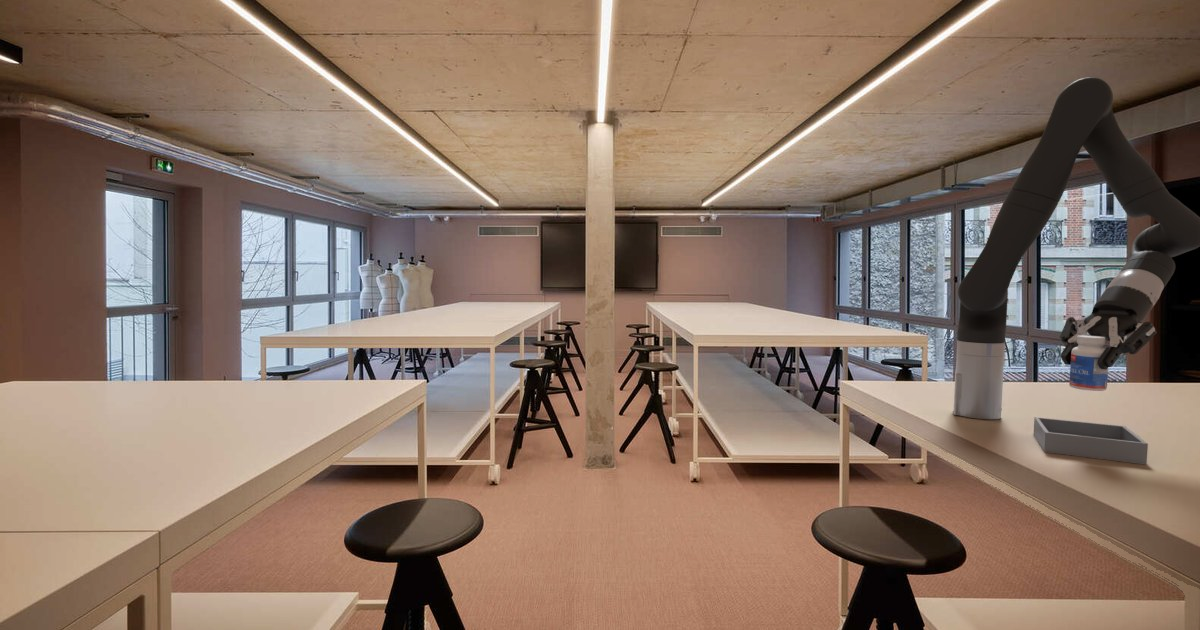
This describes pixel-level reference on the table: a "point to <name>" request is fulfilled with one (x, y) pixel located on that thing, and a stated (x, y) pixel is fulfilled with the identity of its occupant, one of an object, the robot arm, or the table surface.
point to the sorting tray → (1090, 440)
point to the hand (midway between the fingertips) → (1083, 363)
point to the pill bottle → (1088, 364)
